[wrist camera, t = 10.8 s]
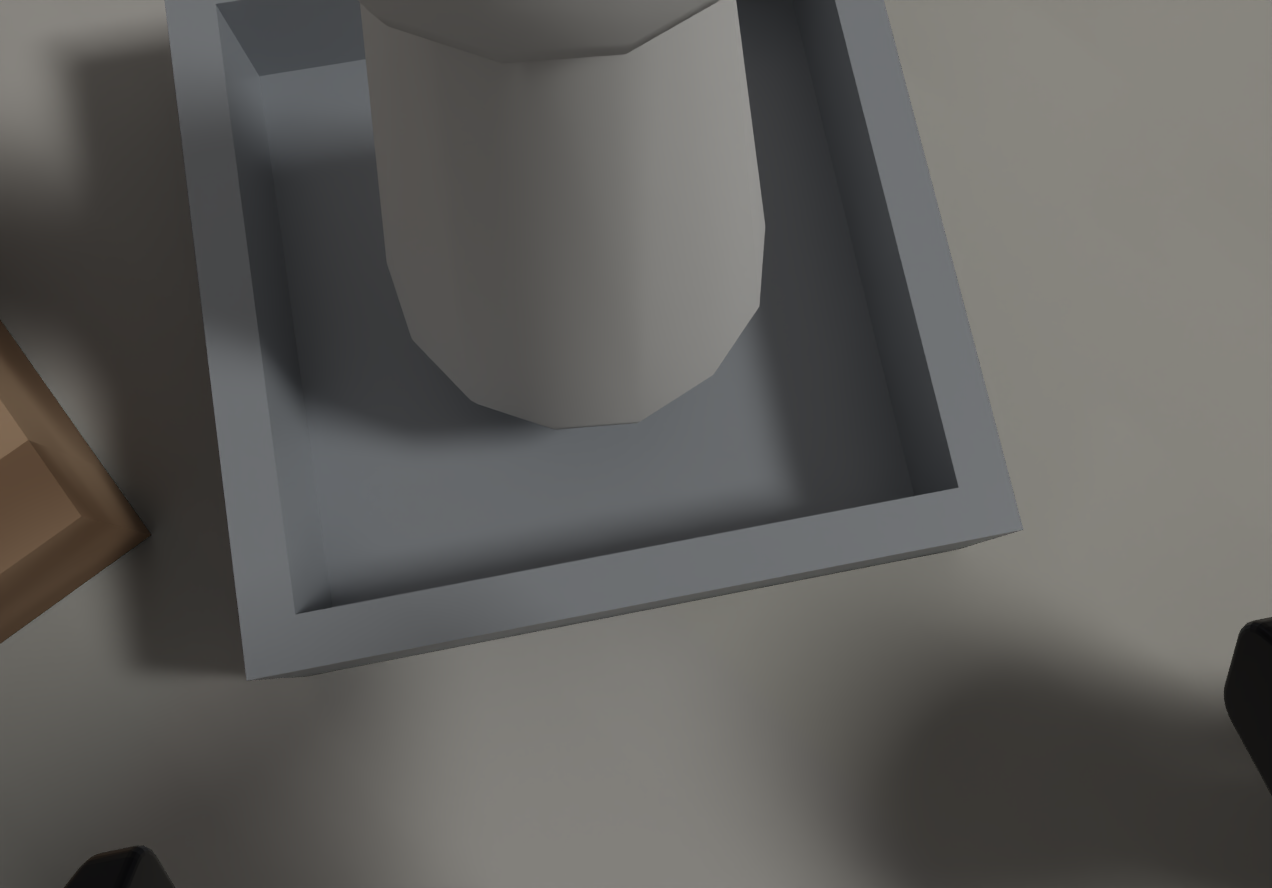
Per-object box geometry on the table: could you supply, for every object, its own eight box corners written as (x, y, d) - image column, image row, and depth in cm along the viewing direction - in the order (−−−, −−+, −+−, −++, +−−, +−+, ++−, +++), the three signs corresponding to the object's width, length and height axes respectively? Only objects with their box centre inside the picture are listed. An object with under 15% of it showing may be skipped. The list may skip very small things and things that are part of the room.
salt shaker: (812, 301, 19) (1235, -441, 6) (581, 527, 18) (509, 215, 5) (582, 84, 20) (528, -985, 7) (349, 291, 19) (-217, -491, 6)
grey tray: (958, 549, 19) (1023, 529, 16) (305, 676, 18) (246, 680, 15) (814, -27, 21) (847, -137, 18) (225, 67, 20) (160, -32, 17)
